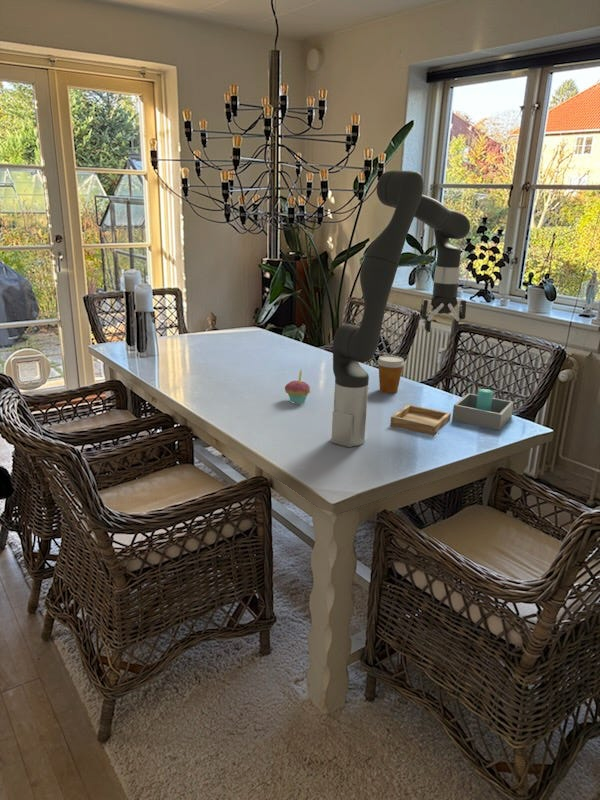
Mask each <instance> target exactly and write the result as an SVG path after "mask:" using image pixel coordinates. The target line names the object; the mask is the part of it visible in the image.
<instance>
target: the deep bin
mask: <svg viewBox="0 0 600 800" xmlns="http://www.w3.org/2000/svg"><path fill="white" fill-rule="evenodd" d="M477 398H478V394H476V393H475V394H474V393H470V392H468V393H467V394H465V395H463V397H461V398H460V399H459V400H458V401H457V402H455V403H454V404H453V409H452V417H451V421H454V422H457V423H458V422H459V423H463V424H467V425H473V426H478V427H481V428H486V429H490V430H495V431H500V430H502V428H503V427H504V426H505V425H506V423H508V422H509V420H510V419H511V418H512V417H513V416H512V415H513V408H514V403H515V402H514V401H511V400H507V399H506V400H505V399H500V398H496V397H492V404H491V411H485V410H480V409H476V405H477Z"/></svg>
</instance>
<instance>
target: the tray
mask: <svg viewBox="0 0 600 800" xmlns="http://www.w3.org/2000/svg"><path fill="white" fill-rule="evenodd" d="M451 415H452V413H451V412H446V411H441V410H437V409H432V408H427V407H423V406H418V405H413V404H407V405H406V406H404V407H403V408H401V409H400V410H398V411H397V412H395V413H394V414H393V415H391V416H390V423H389V426H391V427H394V428H398V429H402V430H408V431H410V432H416V433H419V434H420V433H421V434H424V435H429V436H432V437H435V436H436V435H437V434H438V431H439V430H440V429H442V427H443V426H445V425H446V424H447V423H448V422H449V421H450V420H451ZM434 435H435V436H434Z"/></svg>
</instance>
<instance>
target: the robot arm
mask: <svg viewBox="0 0 600 800" xmlns="http://www.w3.org/2000/svg"><path fill="white" fill-rule="evenodd" d="M423 178H424V177H423V176H422V174H421V173H420V172H418V171H415V170H414V171H413V170H388V171H385V172H383V173H382V174H381V175H380V176H379V178H378V181H377V183H376V195H377V197H378V200H379V202H381V204H383V205H384V206H387V207H390V208H394V212H393V214H392V217H391V218H390V221H389V222H388V224H387V226H386V227H385V228H383V231H382V232H380V234H379V235H378V236H377V237H376V238H375V239H374V241H372V243H371V244H370V245H369V247H368V248H367V250H366V252H365V255H364V259H363V261H362V265H361V269H360V274H359V281H360V282H359V283H360V287H361V288H360V289H361V292H362V297H363V304H364V306H363V314H362V319H361V322H360V325H355V324H351V323H344V324H342V325H340V326H339V327H338V328H337V329H336V331H335V334H334V336H333V342H332V371H333V375H334V379H335V380H334V381H335V382H334V395H333V396H334V397H333V398H334V399H333V400H334V401H333V411H332V419H331V420H332V424H331V443H332V444H336V445H338V446H339V445H340V446H344V447H347V448H352V447H357V446H360V445H363V444H364V443H365V438H366V437H365V436H366V422H367V410H368V393H369V381H370V380H369V379H370V377H369V374H368V372H367V371H366V370H365V369H364V368H363V367H362V366H361V365H360V363H367V362H369V361H371V360H372V358H373V357H374V356H375V354H376V351H377V348H378V347H379V346H378V345H379V342H380V337H381V332H382V327H383V326H382V325H383V323H384V317H385V312H386V308H387V304H388V300H389V297H390V293H391V290H392V287H393V283H394V281H395V279H396V278H395V277H396V274H397V271H398V268H399V263H400V260H401V256H402V252H403V249H404V246H405V242H406V240H407V236H408V235H409V231H410V229H411V226H412V223H413V220H414V218H415V219H418V220H419V221H420V222H422V223H424V224H425V225H427V226H428V227H430V228H431V229H433V232H434V233H433V234H434V238H435V243H436V250H437V251H436V252H437V254H436V255H437V256H436V264H435V271H434V275H433V286H432V287H433V288H432V297H431V299H426V298H422V299H421V305H420V309H419V310H420V311H419V318H421V319H423V320H424V327H423V328H424V330H425V332H426V333H431V327H432V326H431V325H432V321H431V320H432V319H433V318H434V317H435V316H436V315H437V314H438V315H439V314H442V315H443V314H448V315H449V314H450V316H452V322H451V332H452V333H456V332H457V331H458V330H459V322H460V321H461V320H465V318H466V311H467V301H466V300H465V299H461V298H460V299H458V298H457V297H458V289H459V288H458V287H459V280H460V264H461V253H462V251H461V249H460V248H459V247H458V246H457V247H456V246H455V245H452V244H451V241H450V239H452V240H453V239H454V240H462V239H464V238H465V237H467V236H468V234H469V233H470V231H471V222H470V220H469V218H468V217H467V216H466V215H465V214H464V213H461V212H459V211H457V210H453V209H450V208H448V207H447V206H446V205H444V204H443V203H442V202H440V201H438V200H437V199H434V198H432V197H430V196H427V195H426V194H425V195H424V194H423V193H424V179H423ZM430 305H431V308H430V310H429V311H428V307H430ZM456 307H459V309H458V310H459V311H458V314H457V311H456V310H455V308H456ZM427 311H428V313H427Z"/></svg>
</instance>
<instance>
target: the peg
mask: <svg viewBox="0 0 600 800" xmlns="http://www.w3.org/2000/svg"><path fill="white" fill-rule="evenodd" d="M477 395H478V398H477V405H476V409H480V410H485V411H491V404H492V398H494V397H493V396H494V391H493V390H491V389H487V388H481V389H480V388H479V389H478V390H477Z"/></svg>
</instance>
